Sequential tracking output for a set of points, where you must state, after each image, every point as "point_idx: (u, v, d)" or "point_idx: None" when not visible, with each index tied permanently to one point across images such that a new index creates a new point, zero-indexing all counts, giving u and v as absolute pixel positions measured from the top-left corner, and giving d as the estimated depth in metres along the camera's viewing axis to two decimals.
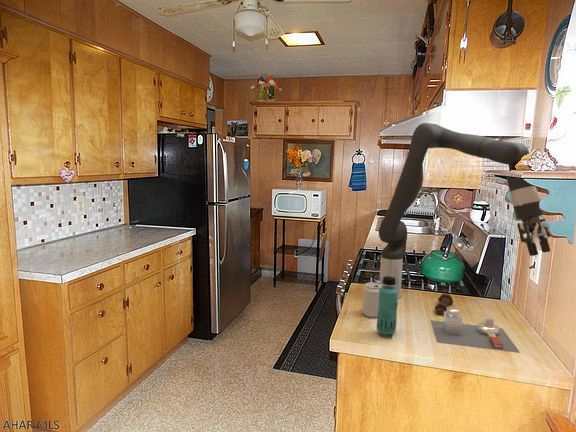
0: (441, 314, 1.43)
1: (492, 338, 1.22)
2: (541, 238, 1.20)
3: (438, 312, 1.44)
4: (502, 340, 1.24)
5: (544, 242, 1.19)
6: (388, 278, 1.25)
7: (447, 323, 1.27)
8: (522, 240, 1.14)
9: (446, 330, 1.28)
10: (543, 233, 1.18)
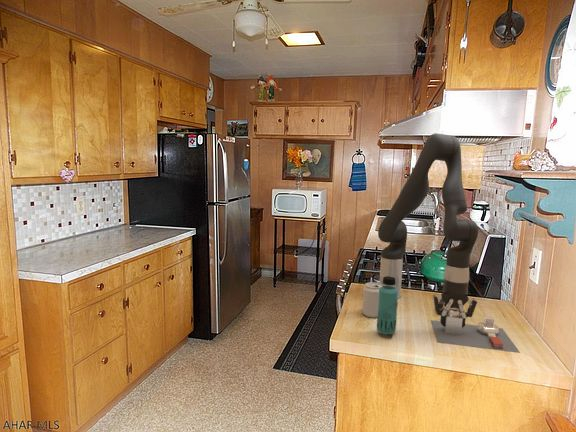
0: None
1: (492, 338, 1.22)
2: None
3: None
4: (502, 340, 1.24)
5: None
6: (388, 278, 1.25)
7: (447, 323, 1.27)
8: None
9: (446, 330, 1.28)
10: (460, 310, 1.27)
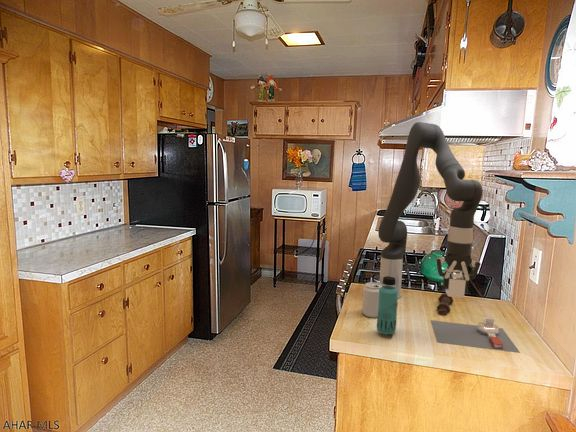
0: (444, 314, 1.43)
1: (492, 338, 1.22)
2: (464, 277, 1.27)
3: (441, 312, 1.44)
4: (502, 340, 1.24)
5: None
6: (388, 278, 1.25)
7: (450, 285, 1.25)
8: (438, 273, 1.29)
9: (449, 292, 1.26)
10: (463, 272, 1.25)
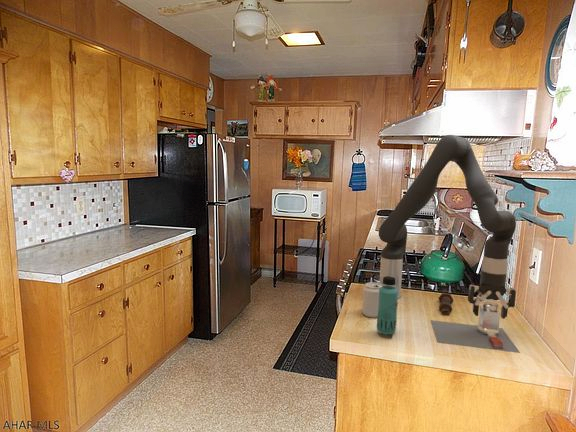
0: (447, 314, 1.44)
1: (492, 338, 1.22)
2: (503, 305, 1.28)
3: (444, 312, 1.44)
4: (502, 340, 1.24)
5: (502, 309, 1.27)
6: (388, 278, 1.25)
7: (484, 318, 1.27)
8: (468, 299, 1.31)
9: (483, 325, 1.27)
10: (501, 301, 1.26)
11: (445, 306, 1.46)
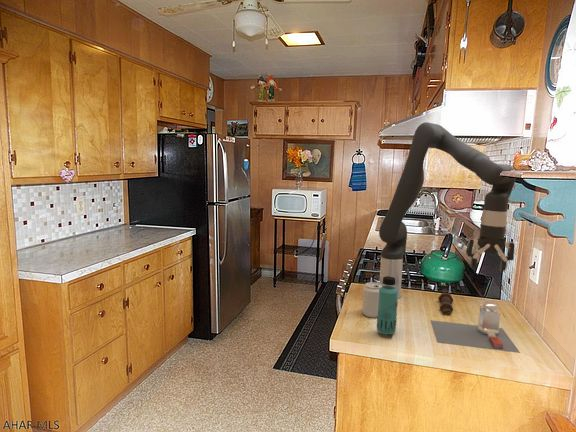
0: (448, 314, 1.44)
1: (492, 338, 1.22)
2: (502, 258, 1.29)
3: (445, 312, 1.44)
4: (502, 340, 1.24)
5: (501, 262, 1.28)
6: (388, 278, 1.25)
7: (484, 318, 1.27)
8: (466, 253, 1.32)
9: (483, 325, 1.27)
10: (499, 255, 1.27)
11: (446, 306, 1.46)
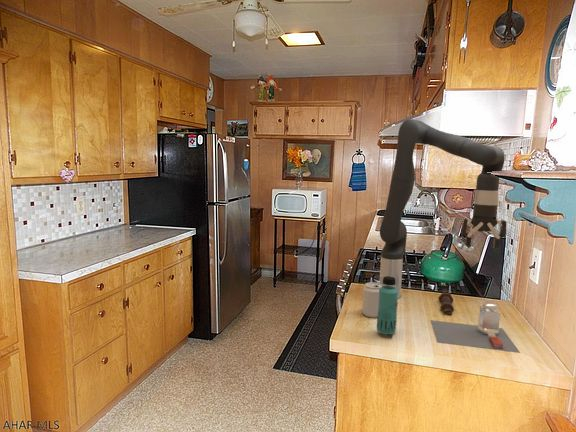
0: (449, 314, 1.44)
1: (492, 338, 1.22)
2: (495, 236, 1.35)
3: (446, 312, 1.44)
4: (502, 340, 1.24)
5: (494, 240, 1.34)
6: (388, 278, 1.25)
7: (484, 318, 1.27)
8: (461, 232, 1.38)
9: (483, 325, 1.27)
10: (492, 232, 1.33)
11: (447, 306, 1.46)
